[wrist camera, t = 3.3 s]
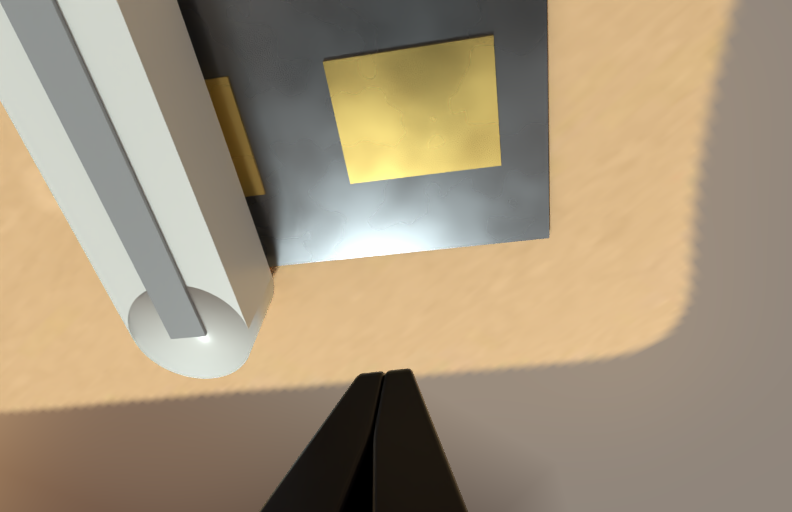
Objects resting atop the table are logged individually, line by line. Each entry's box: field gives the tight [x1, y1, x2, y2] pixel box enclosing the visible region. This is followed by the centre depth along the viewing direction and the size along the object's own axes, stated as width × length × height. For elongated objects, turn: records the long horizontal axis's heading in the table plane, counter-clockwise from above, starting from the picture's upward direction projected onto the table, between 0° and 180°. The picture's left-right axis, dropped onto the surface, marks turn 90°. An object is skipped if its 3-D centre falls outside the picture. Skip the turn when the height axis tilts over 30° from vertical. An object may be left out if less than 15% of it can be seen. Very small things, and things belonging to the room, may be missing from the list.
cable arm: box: [0, 0, 274, 379], centre depth 16 cm, size 4×16×3 cm, turn 9°
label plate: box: [177, 0, 549, 267], centre depth 16 cm, size 16×14×1 cm
